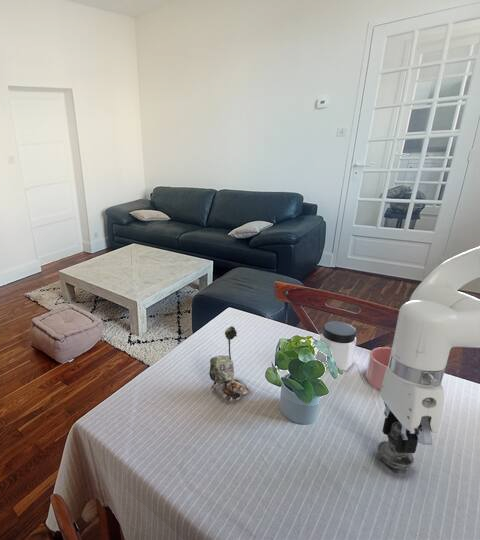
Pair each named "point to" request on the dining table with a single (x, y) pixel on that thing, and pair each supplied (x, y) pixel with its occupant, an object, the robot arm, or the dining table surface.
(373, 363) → the pink coffee mug
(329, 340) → the jar
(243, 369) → the dining table surface
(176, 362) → the dining table surface
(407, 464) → the grey stone figurine
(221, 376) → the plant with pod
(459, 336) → the robot arm
